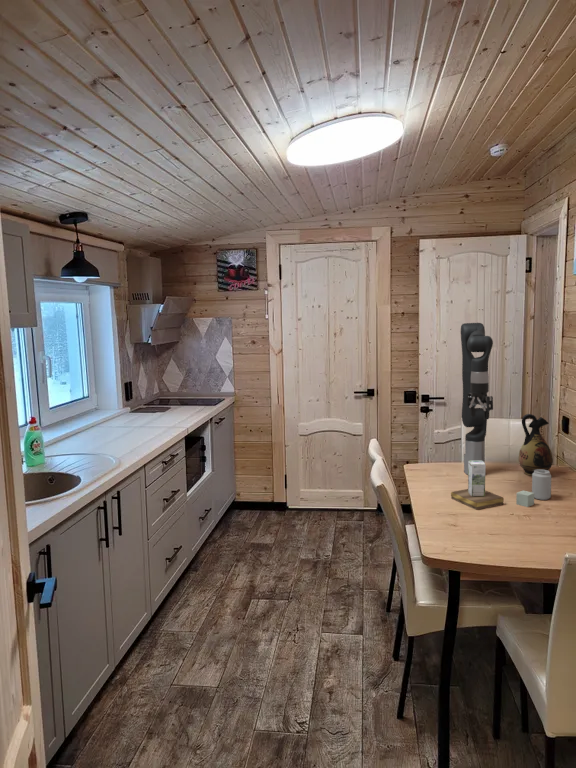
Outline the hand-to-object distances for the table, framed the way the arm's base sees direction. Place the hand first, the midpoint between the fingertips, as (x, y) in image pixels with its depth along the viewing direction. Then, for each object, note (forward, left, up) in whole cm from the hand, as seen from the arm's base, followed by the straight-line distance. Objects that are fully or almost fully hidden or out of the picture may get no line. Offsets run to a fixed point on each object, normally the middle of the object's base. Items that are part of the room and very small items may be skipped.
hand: (479, 417), depth 245 cm
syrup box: (+9, -9, -31) cm, 34 cm away
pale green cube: (+21, +6, -34) cm, 41 cm away
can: (+18, +18, -34) cm, 43 cm away
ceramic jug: (-10, +42, -34) cm, 55 cm away
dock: (+9, -9, -34) cm, 36 cm away
